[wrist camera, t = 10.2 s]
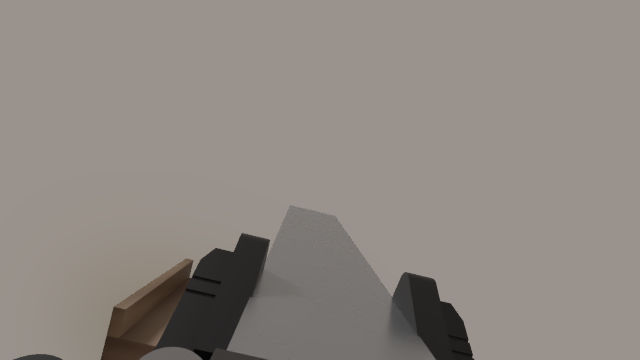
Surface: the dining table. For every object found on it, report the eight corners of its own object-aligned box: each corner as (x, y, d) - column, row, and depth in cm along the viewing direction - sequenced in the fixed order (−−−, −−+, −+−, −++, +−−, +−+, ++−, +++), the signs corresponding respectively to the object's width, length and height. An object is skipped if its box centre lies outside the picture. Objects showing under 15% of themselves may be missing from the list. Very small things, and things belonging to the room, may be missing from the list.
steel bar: (103, 743, 4) (183, 413, 4) (277, 249, 32) (288, 204, 32) (459, 810, 5) (538, 490, 4) (326, 261, 32) (337, 216, 32)
